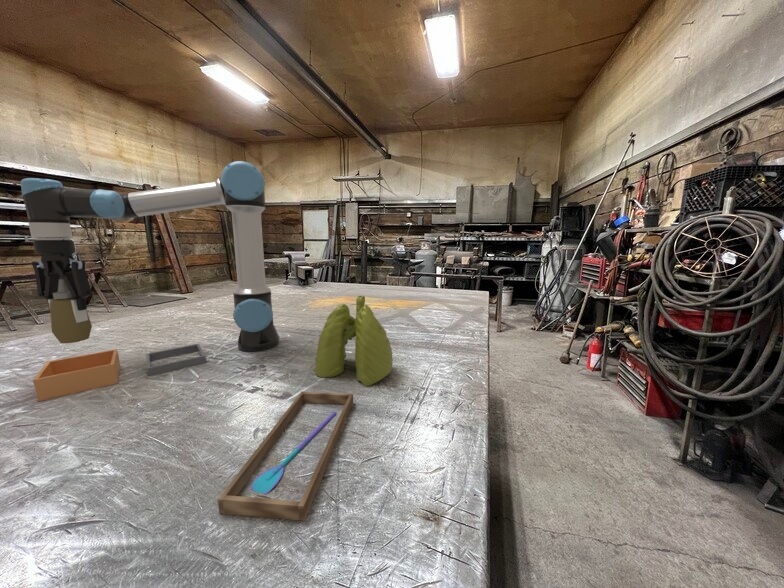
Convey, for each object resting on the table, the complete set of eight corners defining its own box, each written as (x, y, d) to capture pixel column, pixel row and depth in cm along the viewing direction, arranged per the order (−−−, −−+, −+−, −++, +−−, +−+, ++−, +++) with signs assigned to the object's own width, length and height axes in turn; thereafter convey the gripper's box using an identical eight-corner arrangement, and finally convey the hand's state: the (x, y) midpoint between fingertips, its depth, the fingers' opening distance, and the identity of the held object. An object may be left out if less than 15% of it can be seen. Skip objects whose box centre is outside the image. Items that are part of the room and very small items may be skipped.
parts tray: (199, 349, 115) (198, 343, 114) (206, 362, 103) (205, 355, 102) (147, 360, 105) (146, 353, 105) (148, 376, 93) (146, 368, 93)
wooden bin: (120, 366, 101) (117, 349, 100) (117, 383, 89) (113, 364, 88) (51, 380, 91) (47, 361, 90) (38, 401, 79) (32, 380, 78)
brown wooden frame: (353, 403, 77) (353, 394, 77) (304, 520, 45) (303, 506, 45) (302, 400, 78) (301, 391, 78) (219, 513, 47) (217, 499, 46)
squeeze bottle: (102, 336, 91) (90, 277, 88) (71, 345, 83) (57, 281, 80) (78, 335, 92) (65, 277, 88) (45, 345, 84) (30, 281, 81)
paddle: (265, 499, 49) (265, 493, 49) (246, 493, 51) (245, 487, 50) (339, 415, 73) (339, 410, 72) (324, 412, 74) (324, 407, 74)
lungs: (400, 367, 98) (399, 294, 93) (380, 390, 84) (378, 305, 79) (334, 356, 107) (331, 290, 103) (306, 375, 93) (301, 298, 88)
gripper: (100, 239, 85) (114, 318, 89) (39, 239, 87) (56, 316, 91) (69, 239, 77) (86, 325, 82) (3, 239, 79) (24, 324, 84)
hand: (70, 320), depth 86 cm, fingers closed on squeeze bottle, 6 cm apart
